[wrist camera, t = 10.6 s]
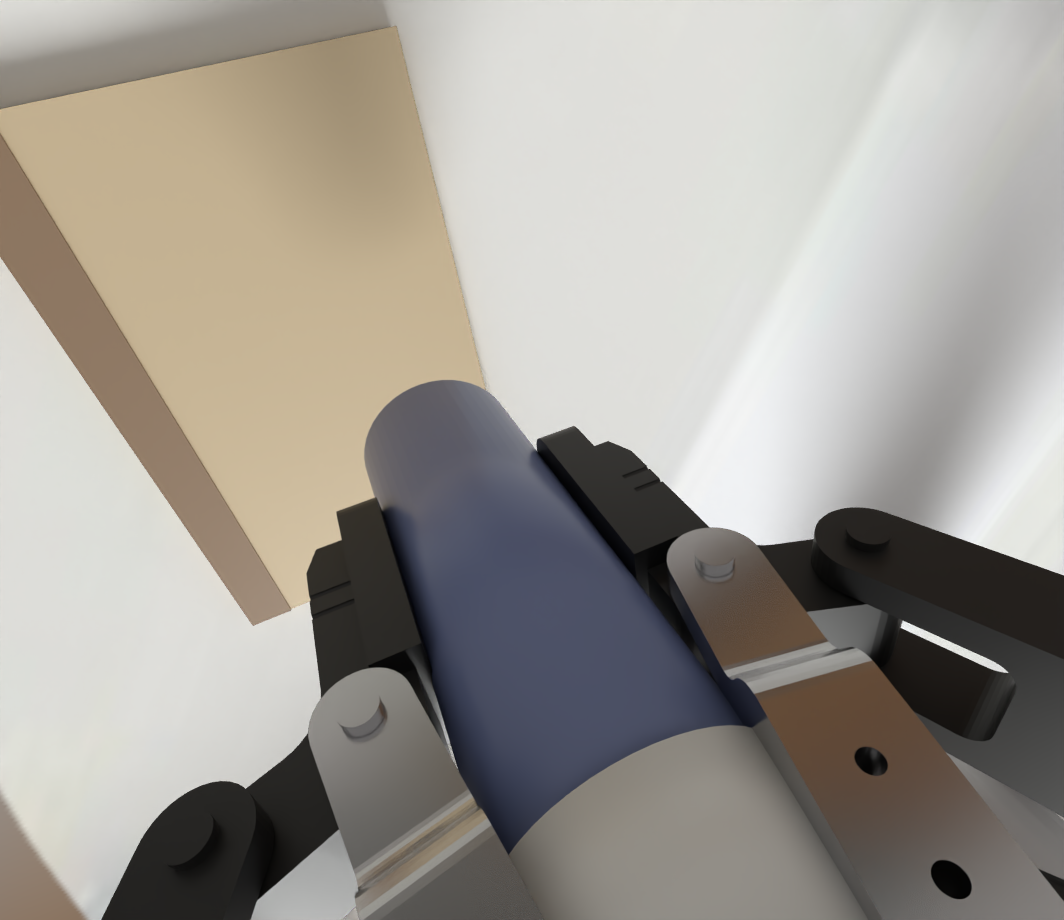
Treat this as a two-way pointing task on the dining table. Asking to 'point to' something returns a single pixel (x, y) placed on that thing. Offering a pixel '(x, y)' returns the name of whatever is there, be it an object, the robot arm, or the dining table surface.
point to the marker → (579, 690)
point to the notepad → (242, 283)
